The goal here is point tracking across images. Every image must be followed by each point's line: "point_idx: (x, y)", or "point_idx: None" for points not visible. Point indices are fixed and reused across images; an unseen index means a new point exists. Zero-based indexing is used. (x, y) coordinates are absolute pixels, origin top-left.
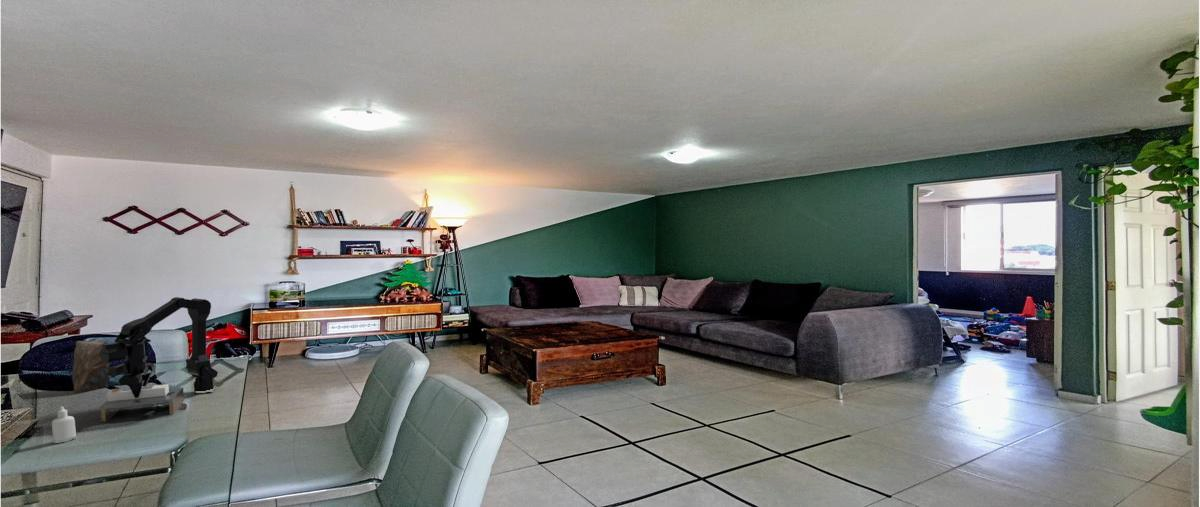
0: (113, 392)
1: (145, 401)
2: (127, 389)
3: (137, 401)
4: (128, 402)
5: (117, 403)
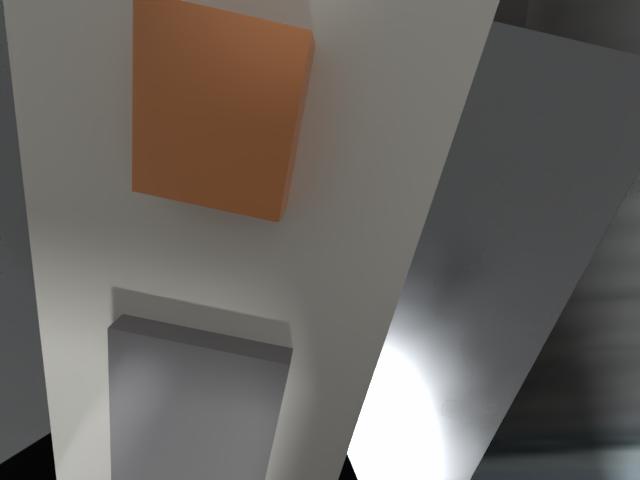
0: (29, 93)
1: (10, 452)
2: (127, 425)
3: (34, 390)
4: (19, 307)
5: (9, 174)
